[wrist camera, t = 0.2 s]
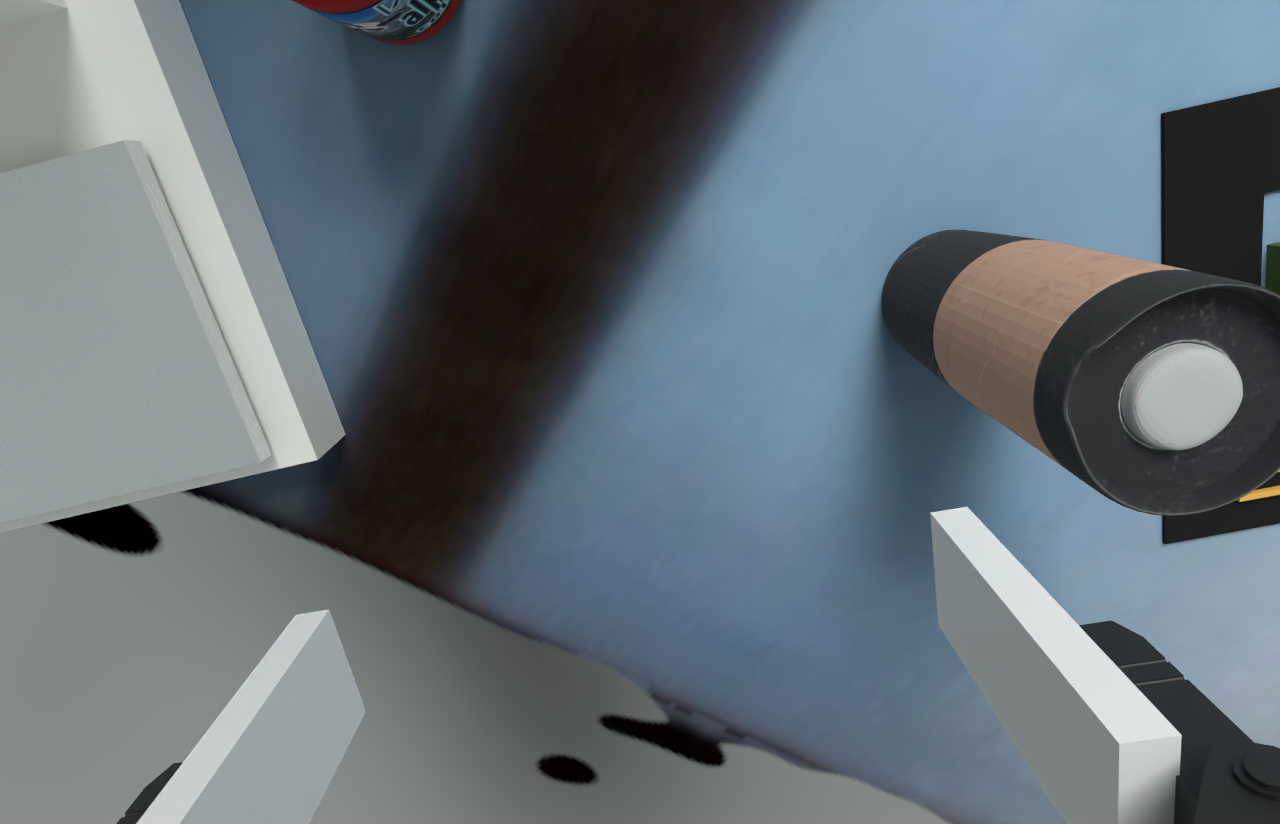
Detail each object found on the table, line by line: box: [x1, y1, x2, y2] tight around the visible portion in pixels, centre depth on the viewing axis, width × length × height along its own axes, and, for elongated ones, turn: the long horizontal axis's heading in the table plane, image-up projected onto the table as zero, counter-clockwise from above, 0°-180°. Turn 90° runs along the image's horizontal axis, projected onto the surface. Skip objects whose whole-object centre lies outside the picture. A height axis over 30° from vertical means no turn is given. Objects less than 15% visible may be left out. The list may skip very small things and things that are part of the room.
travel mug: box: [882, 230, 1280, 516], centre depth 32 cm, size 8×8×20 cm
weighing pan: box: [0, 140, 271, 523], centre depth 38 cm, size 16×18×1 cm
